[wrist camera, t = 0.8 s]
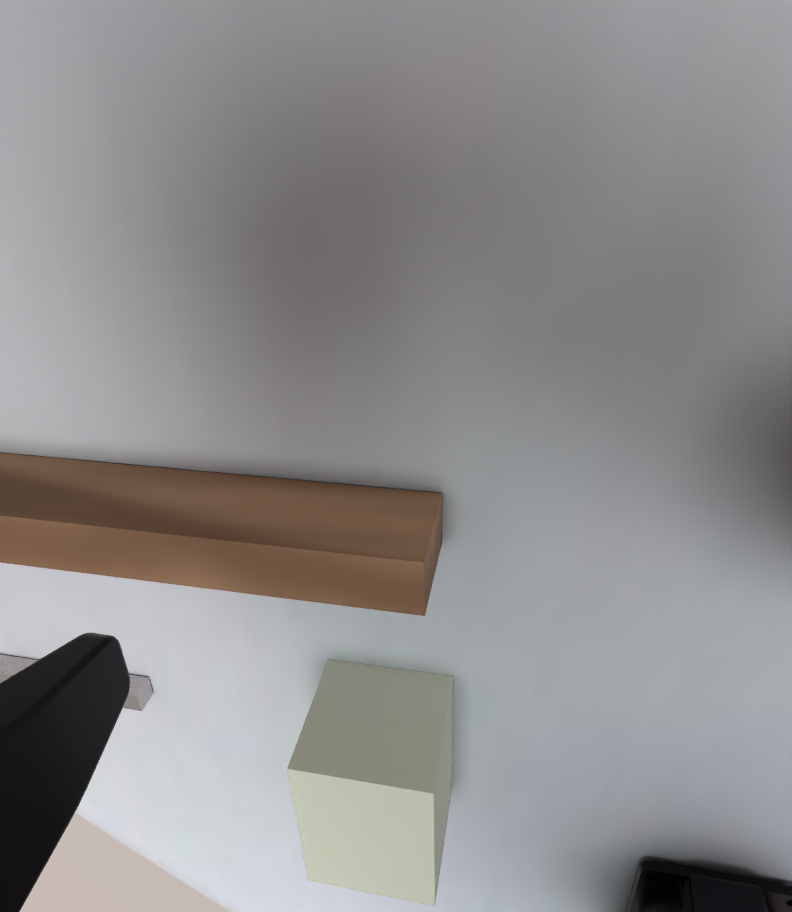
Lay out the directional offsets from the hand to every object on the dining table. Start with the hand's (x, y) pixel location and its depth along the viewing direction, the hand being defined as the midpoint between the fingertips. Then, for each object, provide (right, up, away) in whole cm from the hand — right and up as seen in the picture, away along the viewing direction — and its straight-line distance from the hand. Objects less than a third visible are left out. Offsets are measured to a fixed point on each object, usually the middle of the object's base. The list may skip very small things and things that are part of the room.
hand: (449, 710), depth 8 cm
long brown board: (-11, +2, +16) cm, 20 cm away
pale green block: (-1, -8, +20) cm, 22 cm away
